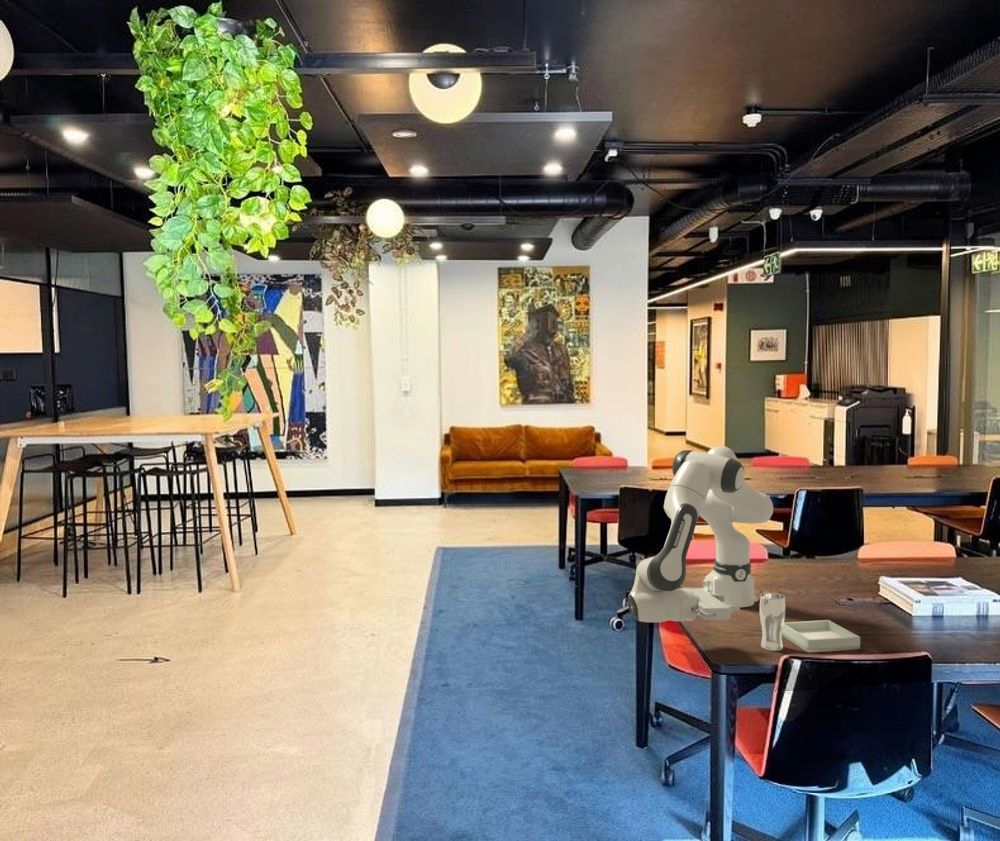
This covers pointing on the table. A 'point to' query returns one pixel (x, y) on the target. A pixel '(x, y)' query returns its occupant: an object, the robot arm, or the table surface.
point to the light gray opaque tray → (820, 636)
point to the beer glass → (772, 620)
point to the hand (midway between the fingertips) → (731, 602)
